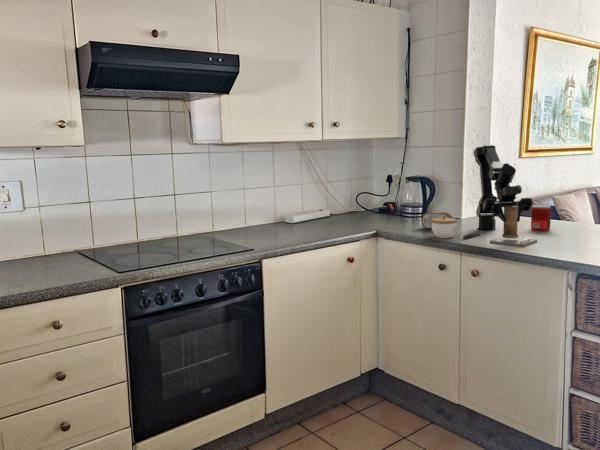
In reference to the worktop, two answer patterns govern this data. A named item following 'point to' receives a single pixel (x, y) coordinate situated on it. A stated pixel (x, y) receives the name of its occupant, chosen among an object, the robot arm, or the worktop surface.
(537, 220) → the canned food
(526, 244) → the panel
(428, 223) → the tan curved piece
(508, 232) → the mill
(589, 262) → the worktop surface
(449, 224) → the lidded jar
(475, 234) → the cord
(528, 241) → the set of cream blocks
